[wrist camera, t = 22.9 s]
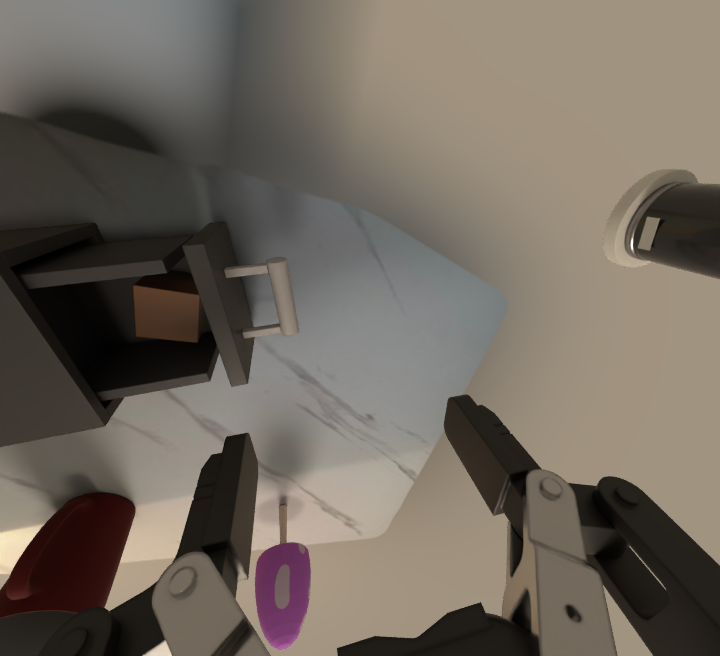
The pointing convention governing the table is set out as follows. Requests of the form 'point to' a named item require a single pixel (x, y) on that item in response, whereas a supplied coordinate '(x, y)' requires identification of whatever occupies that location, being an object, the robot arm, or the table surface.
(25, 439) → the cabinet
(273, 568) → the toy
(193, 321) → the block
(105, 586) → the mug
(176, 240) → the drawer
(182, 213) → the table surface
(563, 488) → the robot arm
